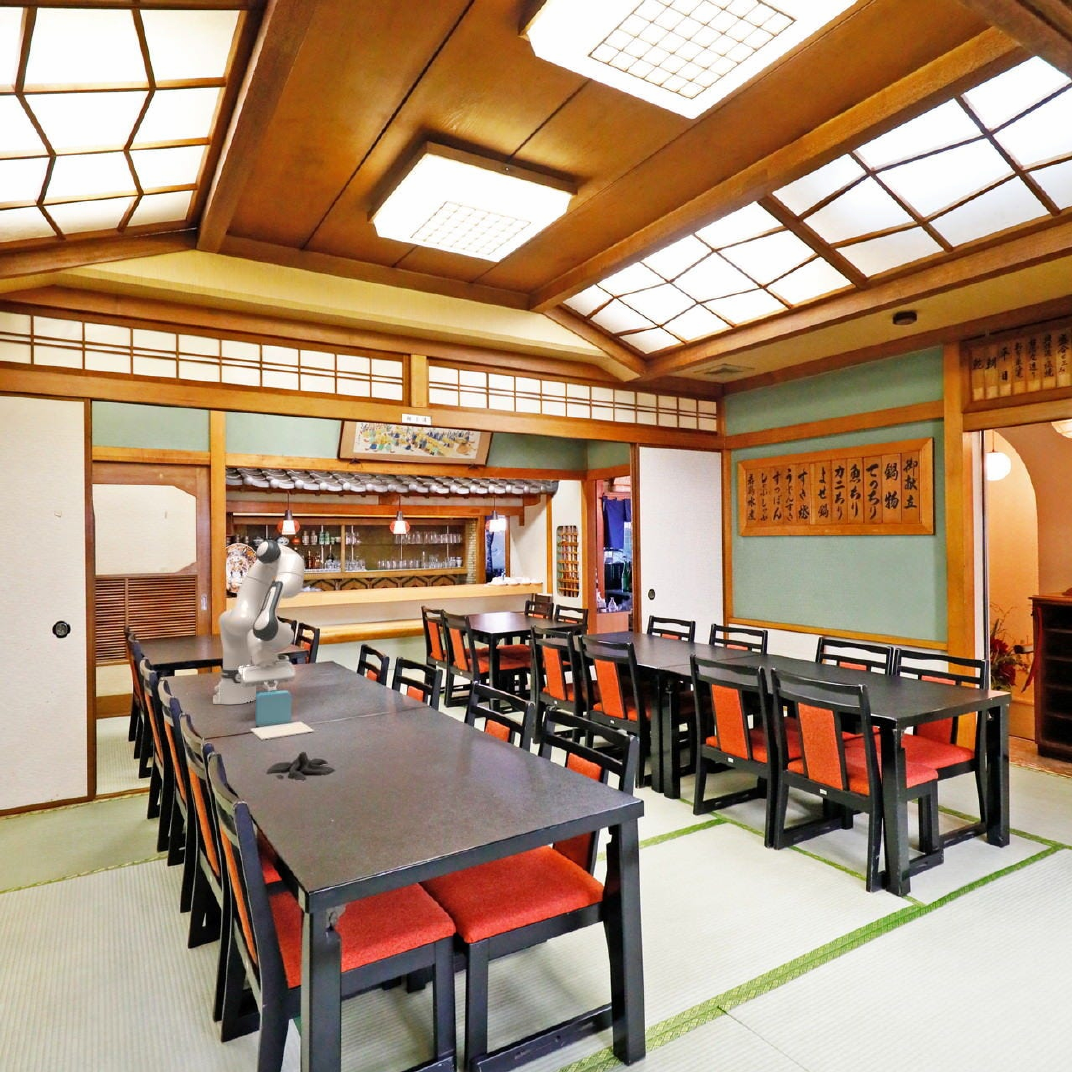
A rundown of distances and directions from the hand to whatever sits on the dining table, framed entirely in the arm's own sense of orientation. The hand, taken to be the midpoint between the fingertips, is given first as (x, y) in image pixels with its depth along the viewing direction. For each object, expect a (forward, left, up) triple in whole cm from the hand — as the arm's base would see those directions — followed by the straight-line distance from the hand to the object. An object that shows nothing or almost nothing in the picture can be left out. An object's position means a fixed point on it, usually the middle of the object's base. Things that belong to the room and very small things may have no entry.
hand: (272, 692), depth 266 cm
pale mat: (+20, -2, -10) cm, 23 cm away
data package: (+8, -2, -11) cm, 14 cm away
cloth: (+70, -10, -11) cm, 71 cm away
